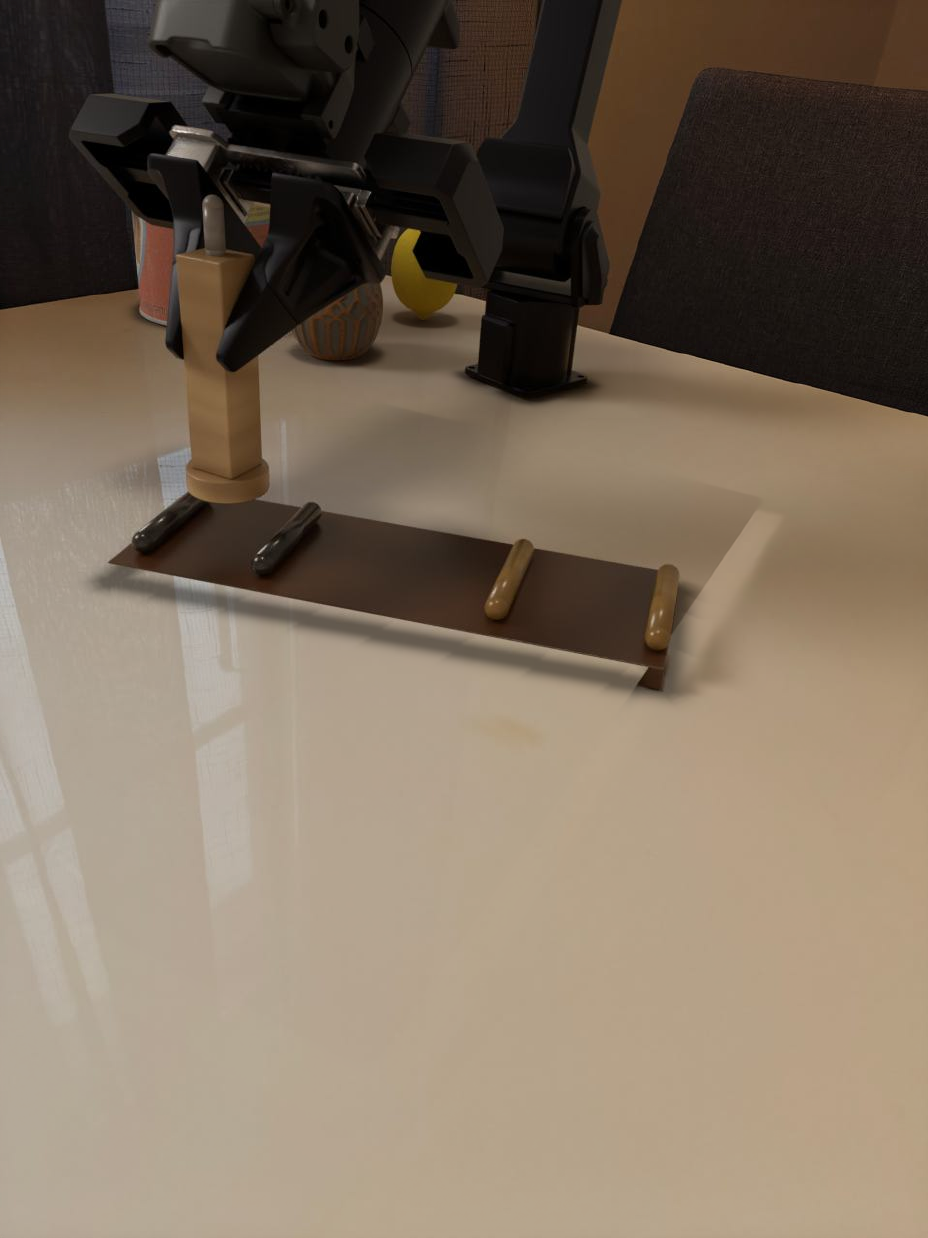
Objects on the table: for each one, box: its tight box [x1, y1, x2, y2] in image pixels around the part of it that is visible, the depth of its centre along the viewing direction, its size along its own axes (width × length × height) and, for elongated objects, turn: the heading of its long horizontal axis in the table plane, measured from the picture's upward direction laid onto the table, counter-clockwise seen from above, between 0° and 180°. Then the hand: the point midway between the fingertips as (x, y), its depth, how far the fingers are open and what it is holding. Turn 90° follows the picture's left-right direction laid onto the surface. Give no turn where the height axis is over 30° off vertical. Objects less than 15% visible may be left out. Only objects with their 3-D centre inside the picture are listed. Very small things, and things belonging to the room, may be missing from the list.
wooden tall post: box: [176, 195, 271, 504], centre depth 42 cm, size 4×4×12 cm
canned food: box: [131, 205, 270, 327], centre depth 79 cm, size 11×11×12 cm
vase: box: [291, 283, 384, 361], centre depth 73 cm, size 7×7×9 cm
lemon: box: [390, 228, 458, 321], centre depth 83 cm, size 6×6×8 cm
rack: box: [107, 490, 680, 690], centre depth 45 cm, size 24×8×2 cm, turn 76°
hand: (198, 359), depth 41 cm, fingers closed on wooden tall post, 2 cm apart
